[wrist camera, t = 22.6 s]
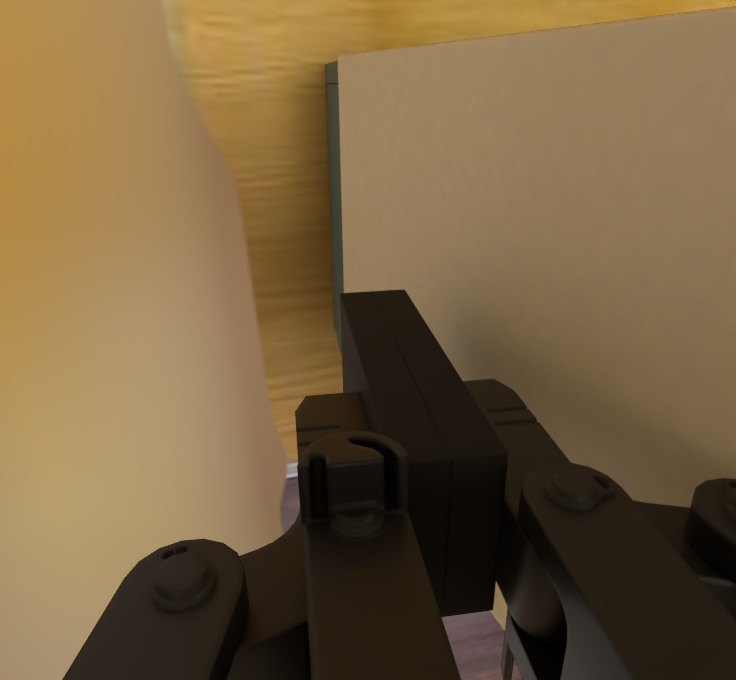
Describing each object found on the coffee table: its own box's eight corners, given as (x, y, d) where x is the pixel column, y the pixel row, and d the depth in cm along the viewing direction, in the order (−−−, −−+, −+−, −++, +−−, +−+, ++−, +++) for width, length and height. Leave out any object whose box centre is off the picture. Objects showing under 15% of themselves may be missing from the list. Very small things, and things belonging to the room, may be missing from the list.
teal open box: (670, 62, 28) (828, 53, 20) (626, 308, 33) (737, 379, 25) (324, 64, 26) (347, 55, 18) (334, 326, 31) (355, 411, 23)
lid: (1709, -97, 3) (1687, -112, 3) (860, 1027, 8) (823, 1064, 8) (361, 55, 18) (336, 55, 17) (365, 415, 23) (346, 419, 22)
